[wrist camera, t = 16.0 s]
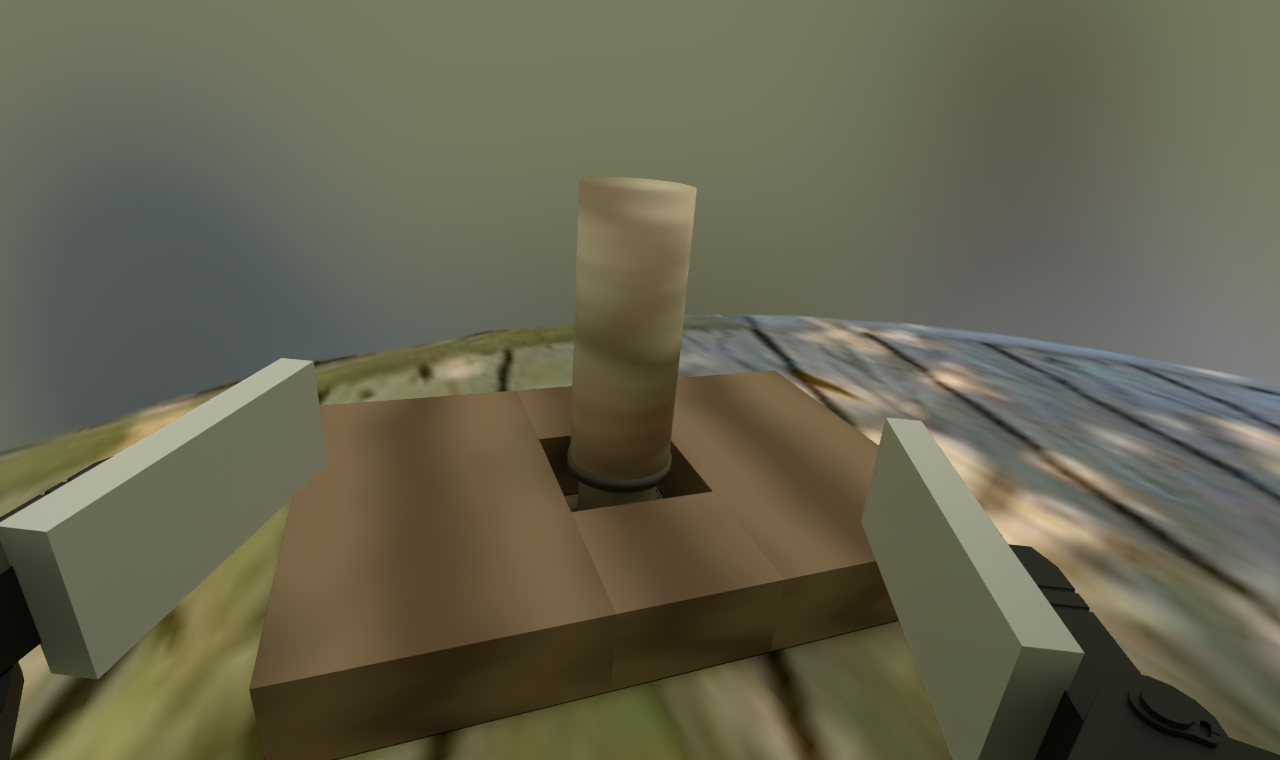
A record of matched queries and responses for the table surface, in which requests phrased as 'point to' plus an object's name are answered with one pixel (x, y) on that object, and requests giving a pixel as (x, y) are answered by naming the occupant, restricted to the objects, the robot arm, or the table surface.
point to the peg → (627, 335)
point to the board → (551, 560)
